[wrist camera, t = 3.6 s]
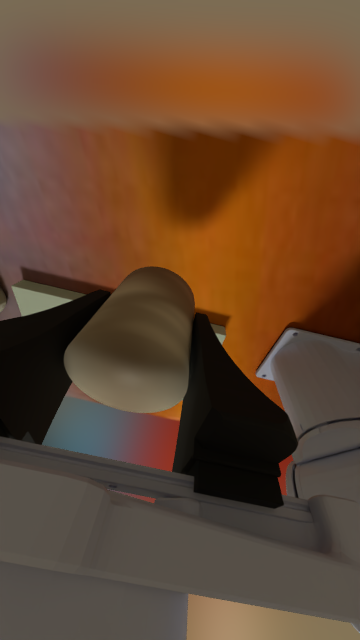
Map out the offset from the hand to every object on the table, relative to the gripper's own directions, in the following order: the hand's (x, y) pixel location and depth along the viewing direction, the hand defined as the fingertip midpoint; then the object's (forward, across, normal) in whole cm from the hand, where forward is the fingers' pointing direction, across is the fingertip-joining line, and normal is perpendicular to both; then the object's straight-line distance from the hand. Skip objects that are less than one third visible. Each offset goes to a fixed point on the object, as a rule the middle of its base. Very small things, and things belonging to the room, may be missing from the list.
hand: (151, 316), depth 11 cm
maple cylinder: (+1, 0, 0) cm, 1 cm away
